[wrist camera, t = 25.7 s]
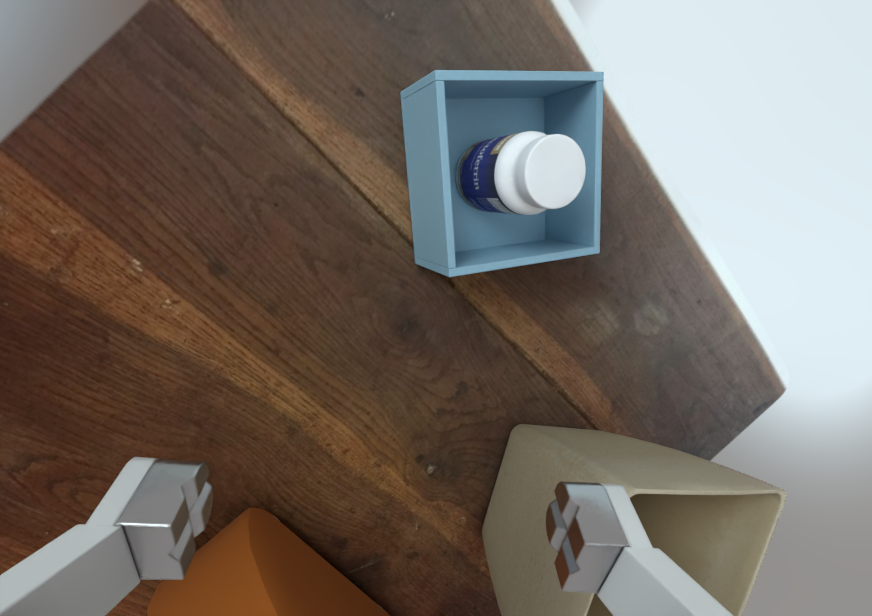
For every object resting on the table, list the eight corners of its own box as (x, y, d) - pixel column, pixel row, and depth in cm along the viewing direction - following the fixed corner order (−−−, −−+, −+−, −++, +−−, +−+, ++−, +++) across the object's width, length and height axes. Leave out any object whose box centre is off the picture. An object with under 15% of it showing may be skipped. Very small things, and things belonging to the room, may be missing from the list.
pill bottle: (468, 128, 37) (540, 107, 28) (523, 158, 40) (605, 148, 31) (443, 196, 38) (506, 197, 29) (499, 221, 40) (573, 230, 31)
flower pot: (634, 405, 53) (794, 491, 37) (585, 554, 55) (716, 691, 40) (495, 388, 45) (626, 489, 29) (444, 563, 47) (541, 738, 32)
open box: (399, 91, 35) (435, 69, 29) (546, 90, 40) (603, 71, 33) (415, 263, 39) (449, 277, 32) (547, 244, 43) (599, 253, 37)
